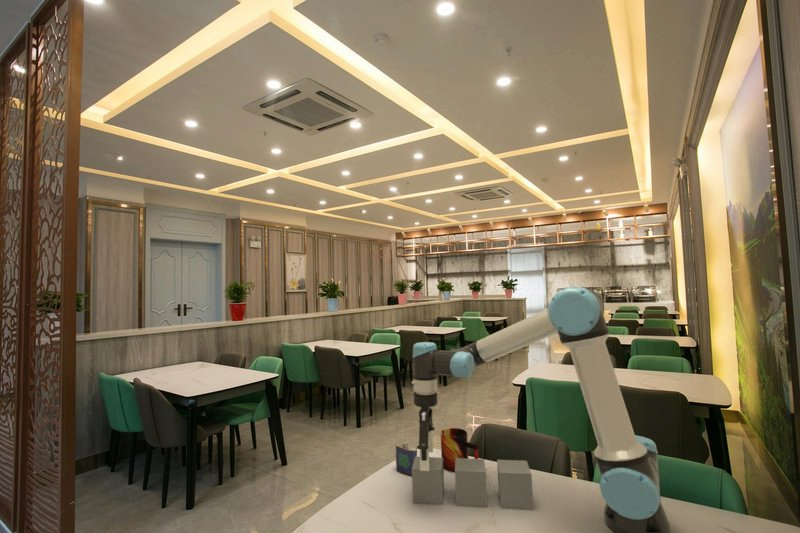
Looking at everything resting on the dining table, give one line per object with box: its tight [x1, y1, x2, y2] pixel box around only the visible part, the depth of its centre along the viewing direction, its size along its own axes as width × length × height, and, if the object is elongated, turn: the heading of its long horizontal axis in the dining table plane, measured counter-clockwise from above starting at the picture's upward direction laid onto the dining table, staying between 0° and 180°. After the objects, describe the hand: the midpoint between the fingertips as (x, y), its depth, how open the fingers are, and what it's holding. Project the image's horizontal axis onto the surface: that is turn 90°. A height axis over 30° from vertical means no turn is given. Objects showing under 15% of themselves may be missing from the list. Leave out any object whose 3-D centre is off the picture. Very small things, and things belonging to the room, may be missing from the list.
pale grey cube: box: [496, 459, 534, 511], centre depth 118 cm, size 9×9×10 cm
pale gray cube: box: [454, 458, 488, 508], centre depth 120 cm, size 9×9×10 cm
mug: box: [440, 427, 479, 473], centre depth 142 cm, size 10×14×12 cm
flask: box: [395, 441, 418, 477], centre depth 138 cm, size 9×3×11 cm, turn 50°
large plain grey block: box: [411, 456, 445, 506], centre depth 122 cm, size 9×9×10 cm
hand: (426, 460), depth 122 cm, fingers open, 13 cm apart
